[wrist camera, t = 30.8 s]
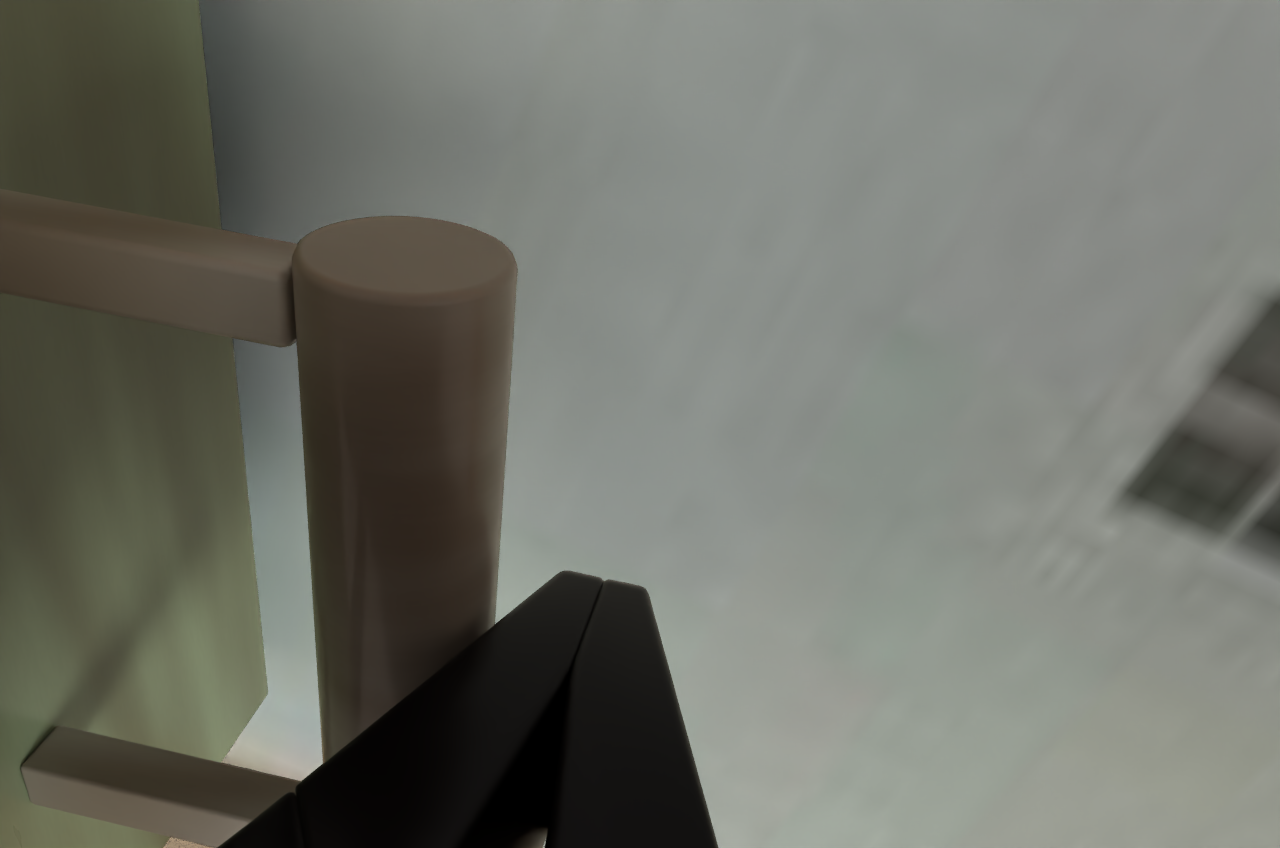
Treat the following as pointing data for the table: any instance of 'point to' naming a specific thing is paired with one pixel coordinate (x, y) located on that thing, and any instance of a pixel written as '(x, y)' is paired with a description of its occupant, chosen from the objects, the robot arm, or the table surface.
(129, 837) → the drawer
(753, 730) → the table surface
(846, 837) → the table surface
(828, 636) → the table surface
